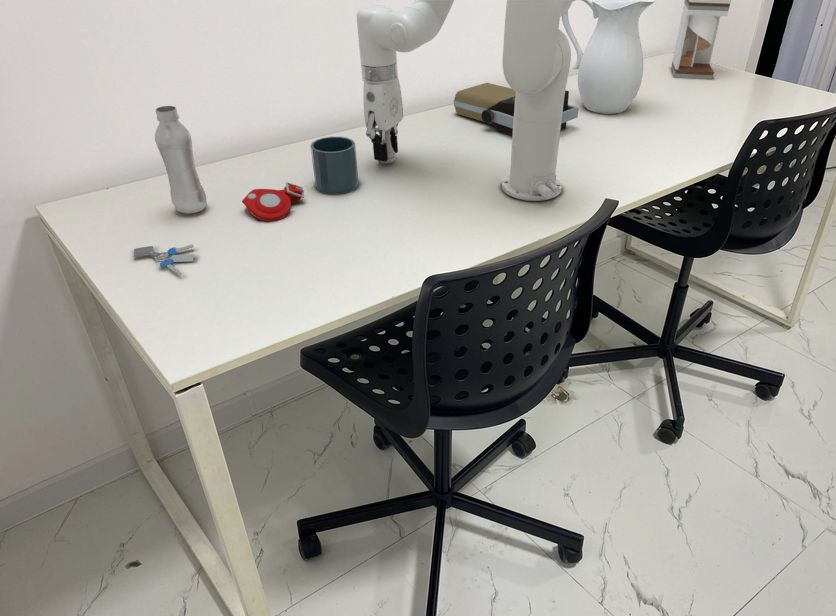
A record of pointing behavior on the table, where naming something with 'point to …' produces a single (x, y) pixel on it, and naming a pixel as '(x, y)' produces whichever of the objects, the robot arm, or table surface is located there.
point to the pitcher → (610, 56)
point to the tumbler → (334, 165)
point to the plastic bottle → (179, 161)
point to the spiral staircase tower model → (697, 38)
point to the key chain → (172, 251)
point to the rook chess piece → (389, 148)
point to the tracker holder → (272, 201)
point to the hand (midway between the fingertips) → (386, 155)
